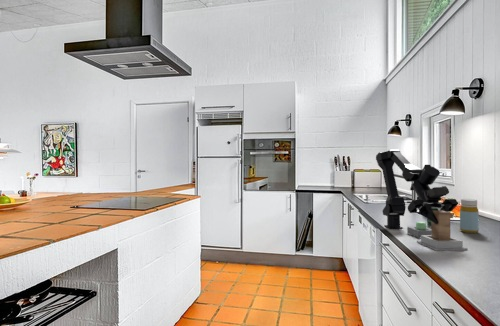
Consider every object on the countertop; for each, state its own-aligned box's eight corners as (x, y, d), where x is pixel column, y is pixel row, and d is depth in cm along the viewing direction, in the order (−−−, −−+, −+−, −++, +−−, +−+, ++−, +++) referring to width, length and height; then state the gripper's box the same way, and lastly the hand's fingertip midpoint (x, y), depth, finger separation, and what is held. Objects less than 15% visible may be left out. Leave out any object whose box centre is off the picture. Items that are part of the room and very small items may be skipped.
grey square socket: (416, 242, 124) (416, 234, 124) (444, 241, 125) (444, 234, 125) (436, 250, 112) (436, 242, 112) (467, 249, 113) (467, 241, 113)
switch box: (407, 233, 139) (407, 226, 139) (424, 232, 140) (424, 226, 140) (418, 237, 131) (418, 230, 131) (435, 237, 132) (435, 230, 132)
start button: (414, 231, 138) (414, 221, 138) (422, 231, 138) (422, 221, 138) (419, 234, 134) (419, 223, 134) (428, 233, 134) (428, 223, 134)
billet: (431, 238, 121) (431, 210, 120) (442, 237, 121) (441, 210, 121) (439, 241, 116) (439, 212, 116) (450, 240, 117) (450, 212, 116)
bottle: (481, 233, 137) (481, 200, 137) (464, 233, 139) (464, 200, 138) (473, 230, 144) (473, 198, 144) (457, 229, 145) (457, 198, 145)
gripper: (411, 179, 121) (430, 211, 111) (454, 179, 123) (477, 210, 112) (400, 197, 129) (417, 228, 118) (440, 196, 131) (461, 226, 120)
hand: (443, 223), depth 117 cm, fingers closed on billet, 4 cm apart
